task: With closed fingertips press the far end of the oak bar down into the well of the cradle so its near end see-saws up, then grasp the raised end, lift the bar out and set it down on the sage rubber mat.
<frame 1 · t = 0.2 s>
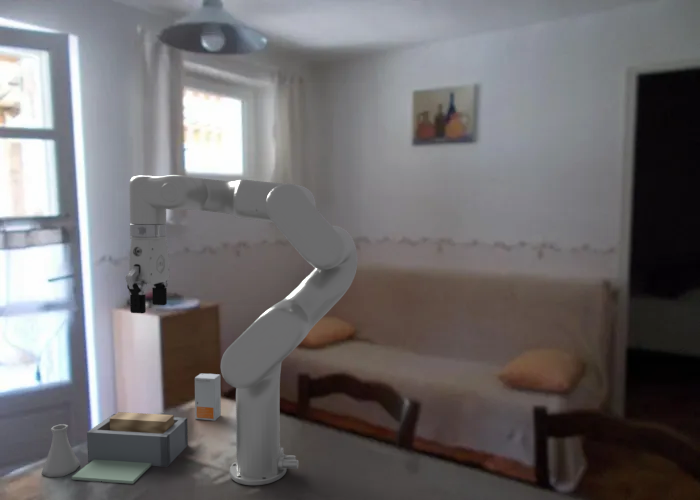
hand: (149, 308, 119), 36 cm above the table, tool pointing down, fingers open, 9 cm apart
oak bar: (142, 437, 127), point 4 cm above the table, touching cradle
skincare box: (208, 418, 149), on the table
cradle: (142, 453, 127), on the table
flask: (61, 471, 119), on the table
mat: (112, 472, 118), on the table
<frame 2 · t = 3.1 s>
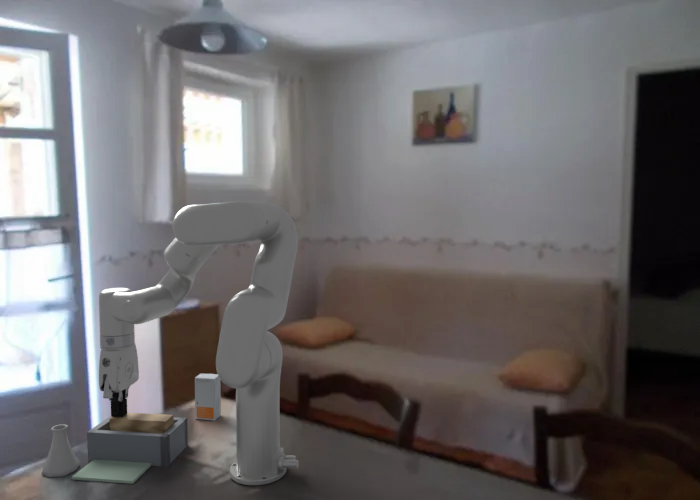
hand: (119, 415, 127), 9 cm above the table, tool pointing down, fingers closed
oak bar: (142, 437, 127), point 4 cm above the table, touching cradle, gripper
everything else where it was.
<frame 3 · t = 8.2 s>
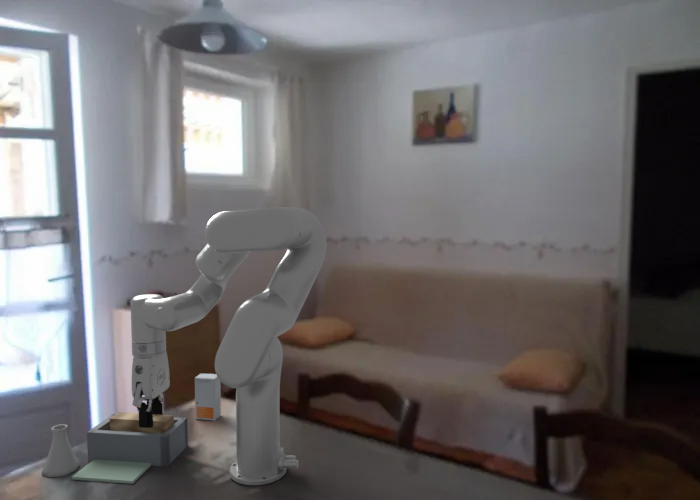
hand: (151, 422, 126), 8 cm above the table, tool pointing down, fingers closed on oak bar, 4 cm apart
oak bar: (142, 437, 127), point 4 cm above the table, touching cradle, gripper
everything else where it was.
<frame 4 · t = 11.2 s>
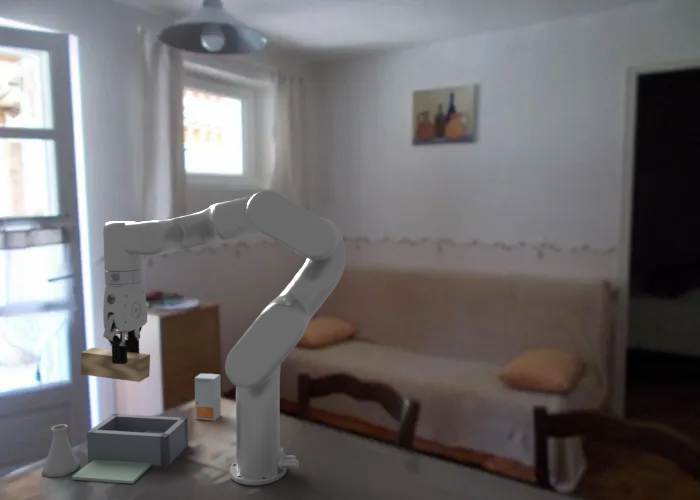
hand: (126, 359, 117), 25 cm above the table, tool pointing down, fingers closed on oak bar, 4 cm apart
oak bar: (115, 375, 118), point 22 cm above the table, touching gripper
everything else where it was.
when the fingers open (10 cm above the table, at t = 14.1 s): oak bar drops 5 cm, resting on mat.
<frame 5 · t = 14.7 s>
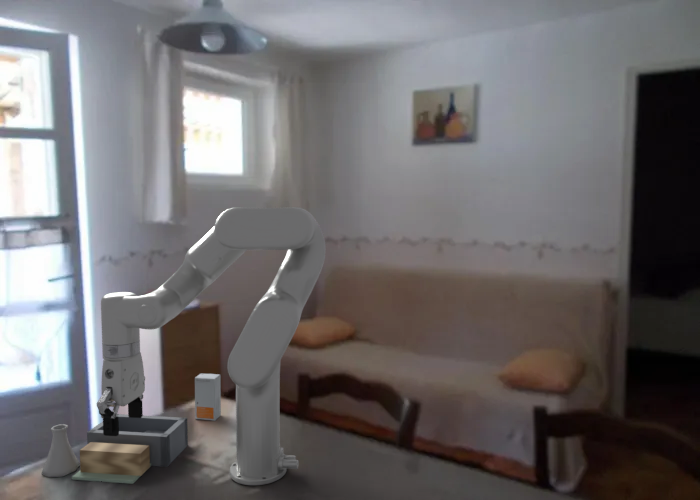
hand: (123, 425, 117), 11 cm above the table, tool pointing down, fingers open, 9 cm apart
oak bar: (115, 469, 118), point 1 cm above the table, touching mat
everything else where it was.
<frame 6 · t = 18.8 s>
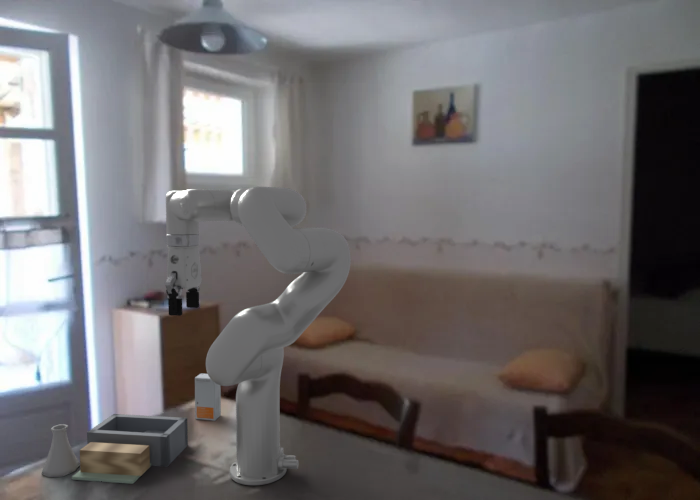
hand: (184, 311, 130), 33 cm above the table, tool pointing down, fingers open, 9 cm apart
nothing on the table moved.
at the end: oak bar inside the target area (0.8 cm from its centre), point 0.6 cm above the table; oak bar touching mat; the gripper is holding nothing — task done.
